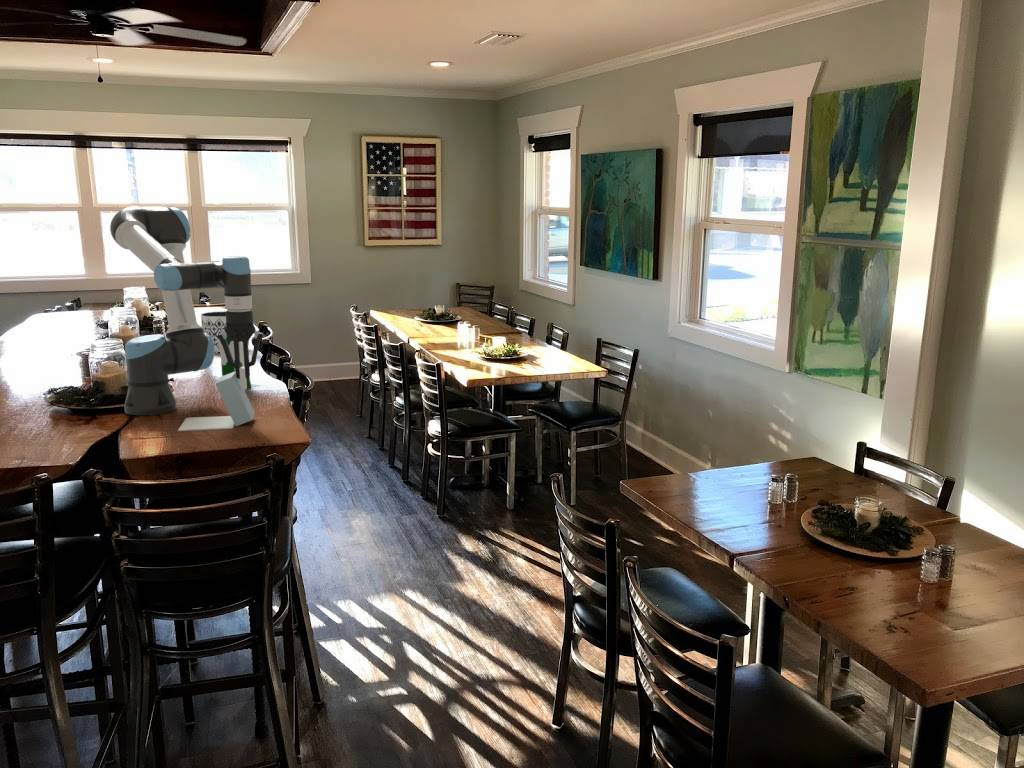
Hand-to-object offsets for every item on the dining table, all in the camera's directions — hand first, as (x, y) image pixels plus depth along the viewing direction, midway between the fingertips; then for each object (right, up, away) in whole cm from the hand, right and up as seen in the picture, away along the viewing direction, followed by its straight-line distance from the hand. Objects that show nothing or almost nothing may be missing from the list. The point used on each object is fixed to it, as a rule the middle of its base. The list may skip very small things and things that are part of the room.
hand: (243, 388), depth 240 cm
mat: (-10, -10, 0) cm, 15 cm away
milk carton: (-18, -1, +46) cm, 50 cm away
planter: (-50, +17, +125) cm, 136 cm away
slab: (0, -9, +2) cm, 9 cm away
